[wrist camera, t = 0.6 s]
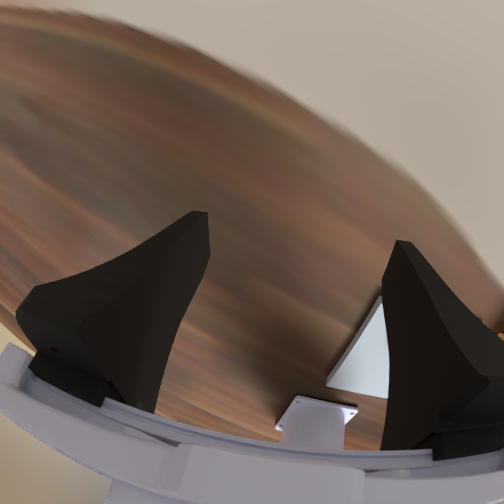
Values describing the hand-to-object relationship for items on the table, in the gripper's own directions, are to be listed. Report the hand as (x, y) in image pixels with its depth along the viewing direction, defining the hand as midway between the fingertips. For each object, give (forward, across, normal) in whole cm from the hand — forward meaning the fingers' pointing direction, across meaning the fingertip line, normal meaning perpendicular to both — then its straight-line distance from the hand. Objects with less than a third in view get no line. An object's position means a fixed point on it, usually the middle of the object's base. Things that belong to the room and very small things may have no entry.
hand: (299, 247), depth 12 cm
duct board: (+8, -12, +17) cm, 22 cm away
